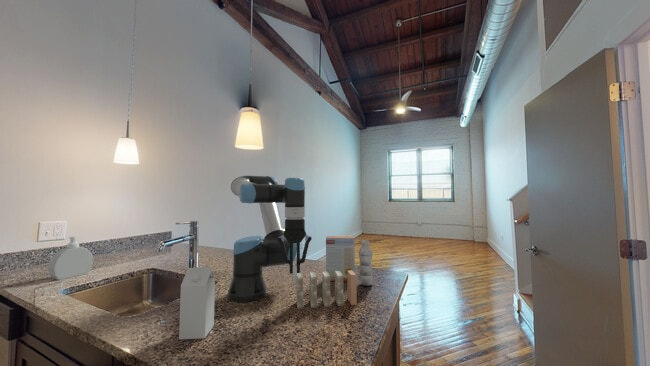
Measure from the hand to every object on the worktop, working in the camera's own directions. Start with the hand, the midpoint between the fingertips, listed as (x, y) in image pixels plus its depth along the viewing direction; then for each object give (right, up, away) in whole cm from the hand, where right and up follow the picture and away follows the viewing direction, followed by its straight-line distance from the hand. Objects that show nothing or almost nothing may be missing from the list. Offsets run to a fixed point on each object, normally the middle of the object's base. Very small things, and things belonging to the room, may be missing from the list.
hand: (294, 282), depth 93 cm
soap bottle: (-119, -11, +35) cm, 125 cm away
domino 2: (+7, -9, +1) cm, 11 cm away
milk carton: (-27, -8, -19) cm, 34 cm away
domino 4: (+17, -9, +2) cm, 19 cm away
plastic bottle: (+30, -10, +21) cm, 38 cm away
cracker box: (+19, -11, +29) cm, 36 cm away
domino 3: (+12, -9, +2) cm, 15 cm away
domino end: (+22, -9, +3) cm, 24 cm away
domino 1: (+2, -9, 0) cm, 9 cm away
